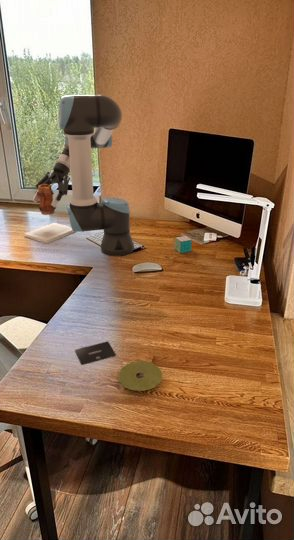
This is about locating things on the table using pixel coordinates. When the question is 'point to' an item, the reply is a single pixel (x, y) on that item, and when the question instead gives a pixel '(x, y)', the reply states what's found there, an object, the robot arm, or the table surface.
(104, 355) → the solid state drive
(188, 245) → the puzzle toy
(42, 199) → the orange brown figurine
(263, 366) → the table surface
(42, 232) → the cream rectangular slab
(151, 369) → the olive green disc
